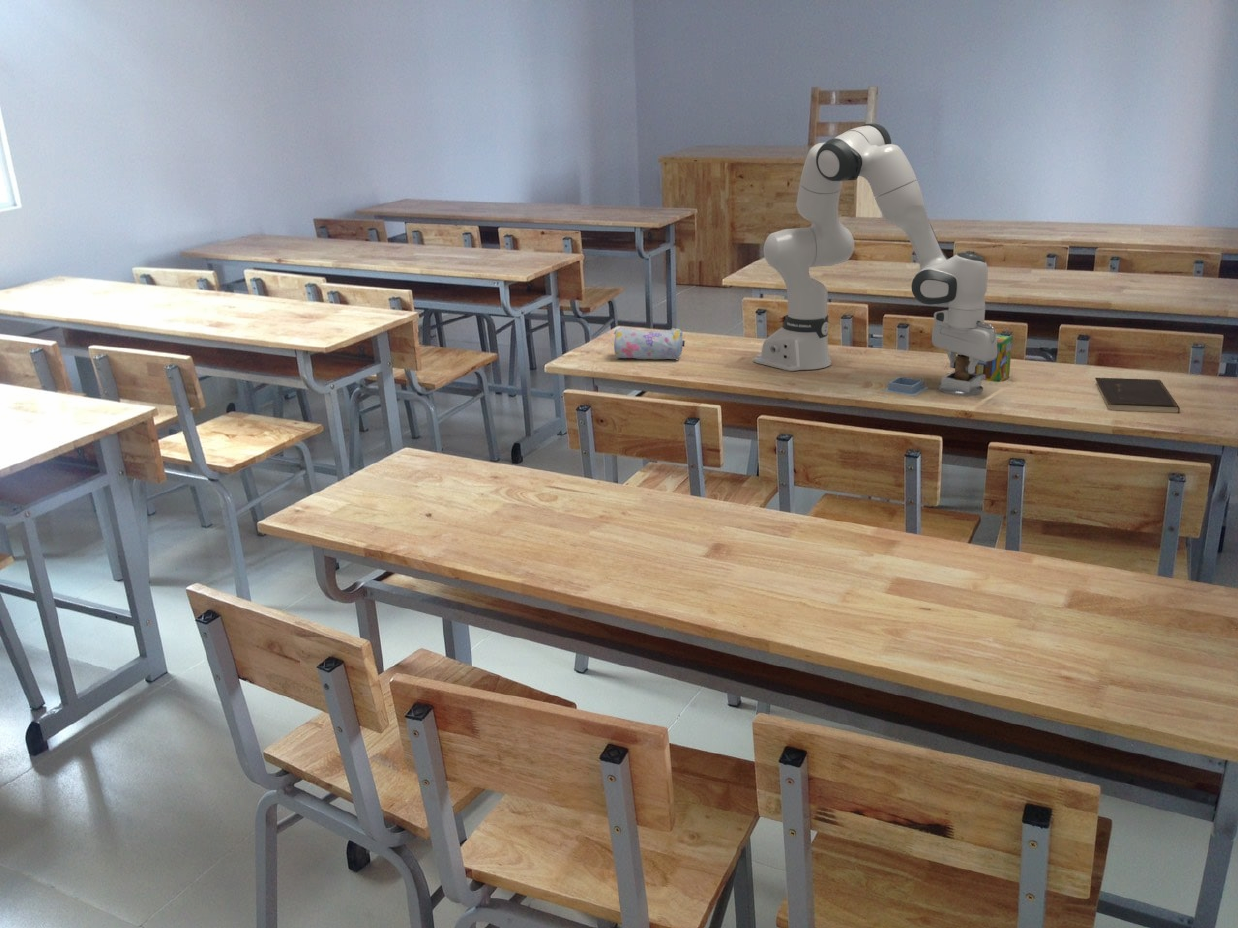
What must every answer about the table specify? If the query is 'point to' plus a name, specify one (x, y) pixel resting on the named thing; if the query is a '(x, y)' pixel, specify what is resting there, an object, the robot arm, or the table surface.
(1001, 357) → the chalk box
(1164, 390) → the hardcover book
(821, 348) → the robot arm
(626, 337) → the pencil case
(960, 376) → the peg
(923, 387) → the stand
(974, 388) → the hub
